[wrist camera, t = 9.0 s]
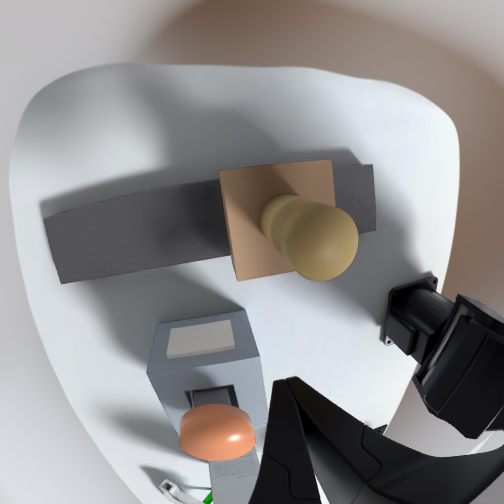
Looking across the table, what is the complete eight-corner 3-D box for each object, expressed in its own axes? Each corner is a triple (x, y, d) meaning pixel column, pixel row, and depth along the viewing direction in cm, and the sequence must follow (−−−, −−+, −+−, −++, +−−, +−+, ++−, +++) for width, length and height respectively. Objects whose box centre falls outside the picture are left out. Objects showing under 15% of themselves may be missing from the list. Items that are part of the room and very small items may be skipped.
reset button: (240, 373, 16) (250, 417, 12) (250, 415, 17) (259, 454, 14) (172, 383, 15) (169, 427, 12) (190, 423, 17) (191, 463, 13)
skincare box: (213, 465, 27) (223, 541, 16) (206, 450, 26) (215, 535, 15) (259, 459, 28) (279, 534, 17) (256, 444, 27) (278, 527, 15)
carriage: (311, 160, 17) (388, 157, 9) (318, 248, 19) (387, 299, 11) (218, 170, 16) (229, 169, 8) (232, 263, 18) (253, 333, 10)
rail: (362, 164, 19) (372, 164, 18) (365, 226, 21) (375, 230, 19) (53, 215, 16) (43, 218, 15) (69, 277, 18) (61, 284, 17)
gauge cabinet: (244, 306, 21) (259, 352, 15) (255, 374, 23) (270, 423, 17) (157, 320, 20) (144, 369, 14) (180, 385, 22) (179, 436, 17)
